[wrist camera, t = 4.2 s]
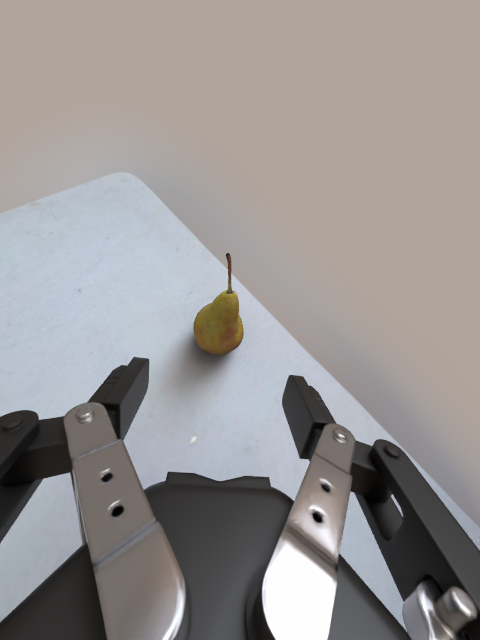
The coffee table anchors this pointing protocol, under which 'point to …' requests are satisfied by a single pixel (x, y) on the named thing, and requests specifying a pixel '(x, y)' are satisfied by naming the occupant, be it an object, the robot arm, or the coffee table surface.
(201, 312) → the fruit
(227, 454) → the coffee table surface
